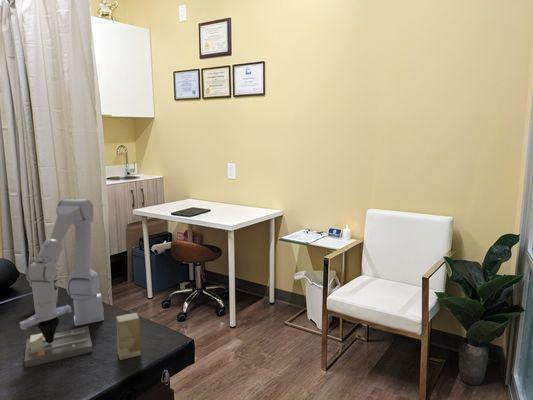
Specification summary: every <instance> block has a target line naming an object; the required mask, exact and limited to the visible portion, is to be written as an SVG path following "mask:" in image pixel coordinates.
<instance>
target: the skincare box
mask: <svg viewBox="0 0 533 400" xmlns="http://www.w3.org/2000/svg"><path fill="white" fill-rule="evenodd" d="M115 321H116V323H115V325H116V341H117V356H118V358H119V360H120V361H122V360H127V359H130V358H134V357H138V356H141V354H142V351H141V333H140V331H141V330H140V328H141V327H140V317H139V314H138V312H133V313H132V312H131V313H126V314H123V315H118V316H115Z"/></svg>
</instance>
